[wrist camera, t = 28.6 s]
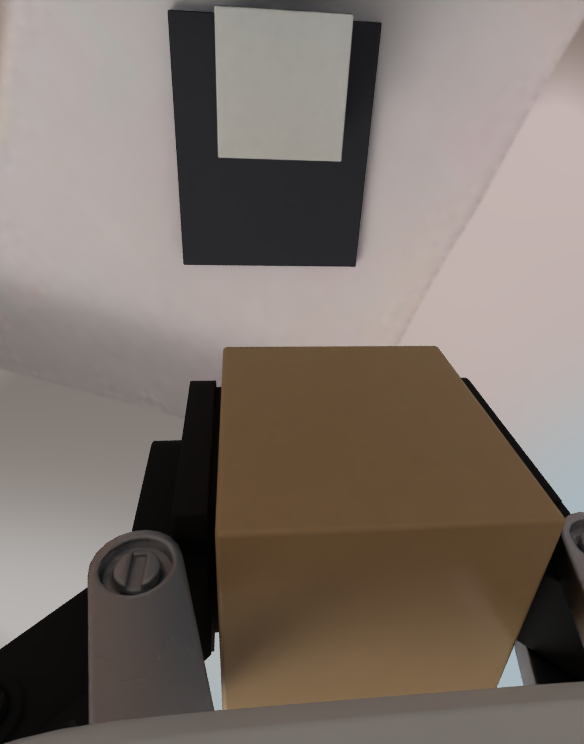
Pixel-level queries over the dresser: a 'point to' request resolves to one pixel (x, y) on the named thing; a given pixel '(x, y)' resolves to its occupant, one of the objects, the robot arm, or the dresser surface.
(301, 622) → the kraft box
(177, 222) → the dresser surface
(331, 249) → the mat
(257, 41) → the cream box
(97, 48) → the dresser surface
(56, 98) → the dresser surface
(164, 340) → the dresser surface
